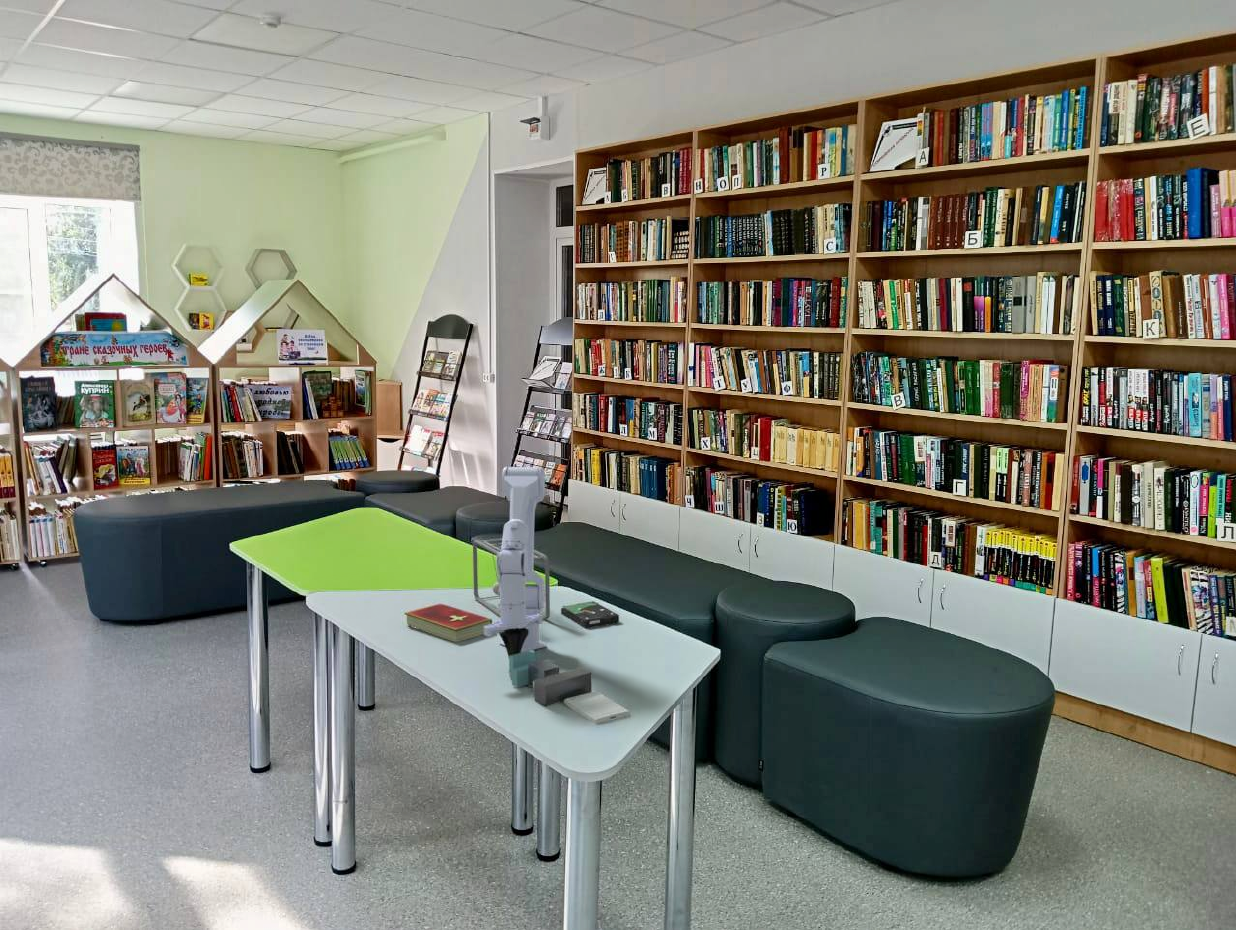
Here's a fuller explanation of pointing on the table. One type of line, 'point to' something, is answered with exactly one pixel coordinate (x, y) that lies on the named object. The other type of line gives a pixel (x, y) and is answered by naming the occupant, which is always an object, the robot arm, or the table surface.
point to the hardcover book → (448, 622)
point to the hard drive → (596, 707)
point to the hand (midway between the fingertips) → (513, 660)
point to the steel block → (540, 670)
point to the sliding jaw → (521, 667)
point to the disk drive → (590, 614)
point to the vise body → (562, 686)
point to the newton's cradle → (497, 585)
